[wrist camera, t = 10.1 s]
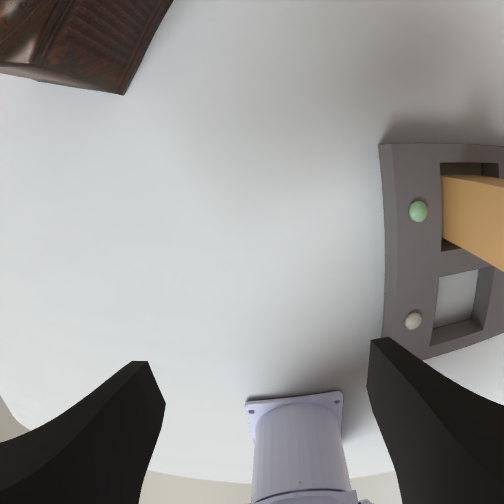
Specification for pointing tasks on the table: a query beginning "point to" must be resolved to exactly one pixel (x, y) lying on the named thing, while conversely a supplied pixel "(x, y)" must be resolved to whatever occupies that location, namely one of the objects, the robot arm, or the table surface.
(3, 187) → the table surface
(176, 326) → the table surface
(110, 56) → the manual coffee grinder
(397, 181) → the socket block
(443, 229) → the plug
